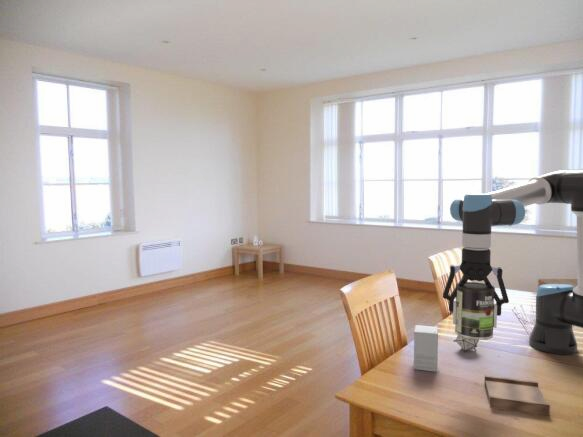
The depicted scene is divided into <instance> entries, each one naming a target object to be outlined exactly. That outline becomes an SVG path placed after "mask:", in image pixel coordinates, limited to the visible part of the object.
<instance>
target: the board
mask: <svg viewBox="0 0 583 437" xmlns="http://www.w3.org/2000/svg"><path fill="white" fill-rule="evenodd" d="M484 388H485V391H486V392H485V393H486V396H487V400H488V404H489V407H490V408H494V409H501V410H507V411H508V410H509V411H513V412H521V411H523V412H522V413H528V412H529V414H536V415H542V416H548V415H549V416H550V408H551V406H550V403H548V401H546V399H545V398H546V397H545V396H544V394H543V392H542V390H541V388H540V387H539V382H538V381H533V380H529V379H528V380H527V379H526V380H525V379H520V378H519V379H518V378H510V377H502V376H496V375H495V376H493V375H484Z"/></svg>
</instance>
